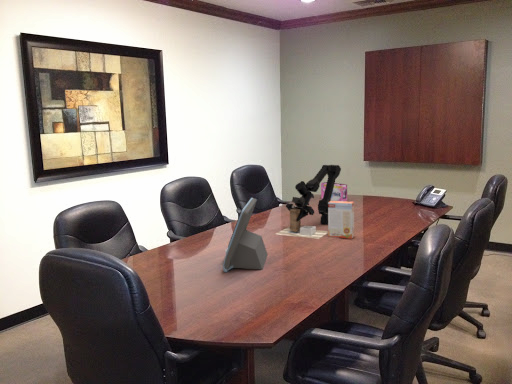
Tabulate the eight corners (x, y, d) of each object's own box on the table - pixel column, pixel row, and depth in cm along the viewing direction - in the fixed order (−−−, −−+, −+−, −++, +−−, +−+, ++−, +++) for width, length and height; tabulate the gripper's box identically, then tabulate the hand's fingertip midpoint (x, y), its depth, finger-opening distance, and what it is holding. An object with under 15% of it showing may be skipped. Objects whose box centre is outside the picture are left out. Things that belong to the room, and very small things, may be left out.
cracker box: (354, 236, 279) (354, 201, 276) (351, 239, 274) (352, 203, 270) (330, 234, 285) (330, 200, 282) (328, 237, 280) (327, 201, 276)
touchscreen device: (232, 251, 257) (232, 195, 252) (268, 252, 255) (269, 197, 250) (219, 272, 223) (218, 209, 218) (261, 274, 220) (261, 210, 215)
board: (287, 228, 304) (287, 227, 304) (329, 232, 290) (329, 231, 290) (274, 235, 288) (274, 233, 288) (318, 239, 275) (318, 238, 275)
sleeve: (304, 231, 291) (304, 225, 291) (315, 233, 288) (315, 226, 287) (300, 234, 285) (299, 228, 284) (311, 235, 282) (311, 229, 281)
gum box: (348, 201, 388) (349, 184, 386) (342, 202, 384) (342, 185, 381) (327, 197, 407) (327, 181, 405) (320, 198, 402) (320, 182, 400)
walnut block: (294, 229, 294) (294, 208, 292) (300, 230, 291) (300, 209, 289) (290, 230, 291) (289, 209, 289) (295, 231, 288) (295, 210, 286)
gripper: (287, 190, 297) (275, 210, 291) (311, 193, 284) (299, 214, 278) (295, 200, 304) (284, 221, 298) (319, 204, 291) (308, 225, 285)
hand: (293, 220), depth 289 cm, fingers closed on walnut block, 4 cm apart
